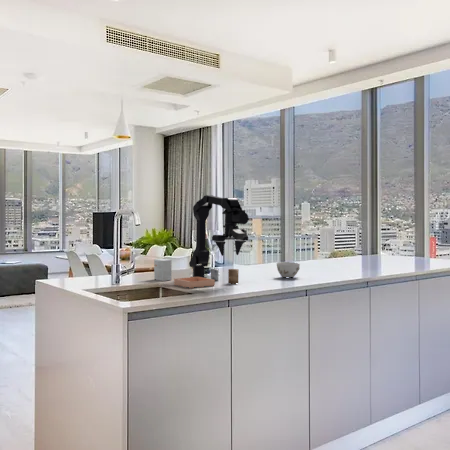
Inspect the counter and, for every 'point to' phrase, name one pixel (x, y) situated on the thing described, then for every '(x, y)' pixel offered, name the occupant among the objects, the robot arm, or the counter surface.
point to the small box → (162, 269)
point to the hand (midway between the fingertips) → (230, 255)
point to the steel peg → (214, 274)
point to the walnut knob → (233, 276)
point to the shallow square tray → (194, 282)
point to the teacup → (288, 269)
